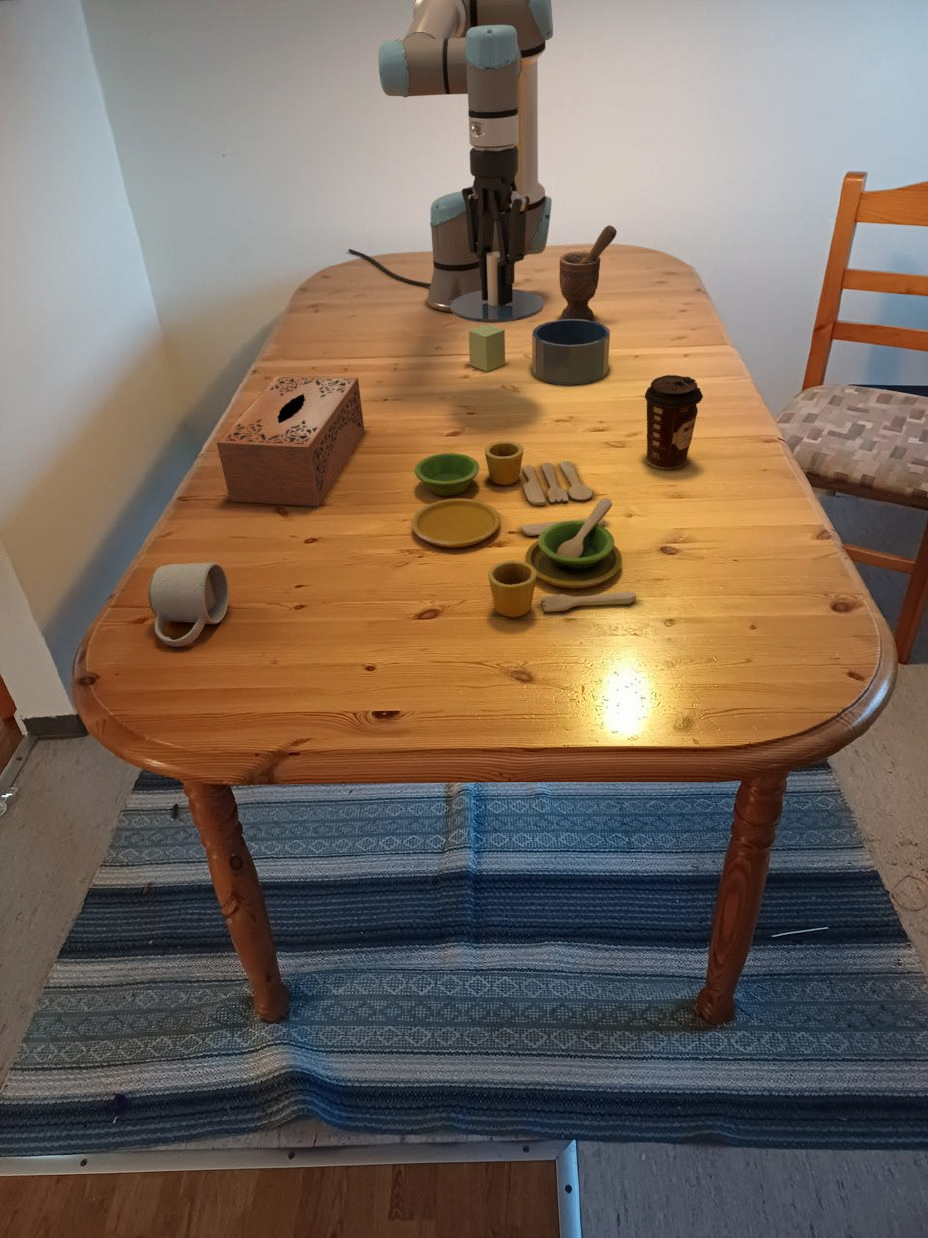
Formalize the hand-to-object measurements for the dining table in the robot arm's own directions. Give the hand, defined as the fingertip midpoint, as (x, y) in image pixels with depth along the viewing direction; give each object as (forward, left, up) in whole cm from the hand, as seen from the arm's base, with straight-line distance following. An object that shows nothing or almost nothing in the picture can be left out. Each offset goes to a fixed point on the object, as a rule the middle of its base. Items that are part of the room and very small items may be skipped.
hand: (497, 300), depth 151 cm
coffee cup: (+35, +4, -19) cm, 40 cm away
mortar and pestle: (-19, +44, -19) cm, 52 cm away
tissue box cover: (-8, -38, -19) cm, 43 cm away
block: (-16, +12, -19) cm, 28 cm away
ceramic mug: (+19, -72, -19) cm, 77 cm away
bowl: (-2, +21, -19) cm, 28 cm away
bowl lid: (0, 0, -1) cm, 1 cm away
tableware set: (+33, -29, -19) cm, 48 cm away
